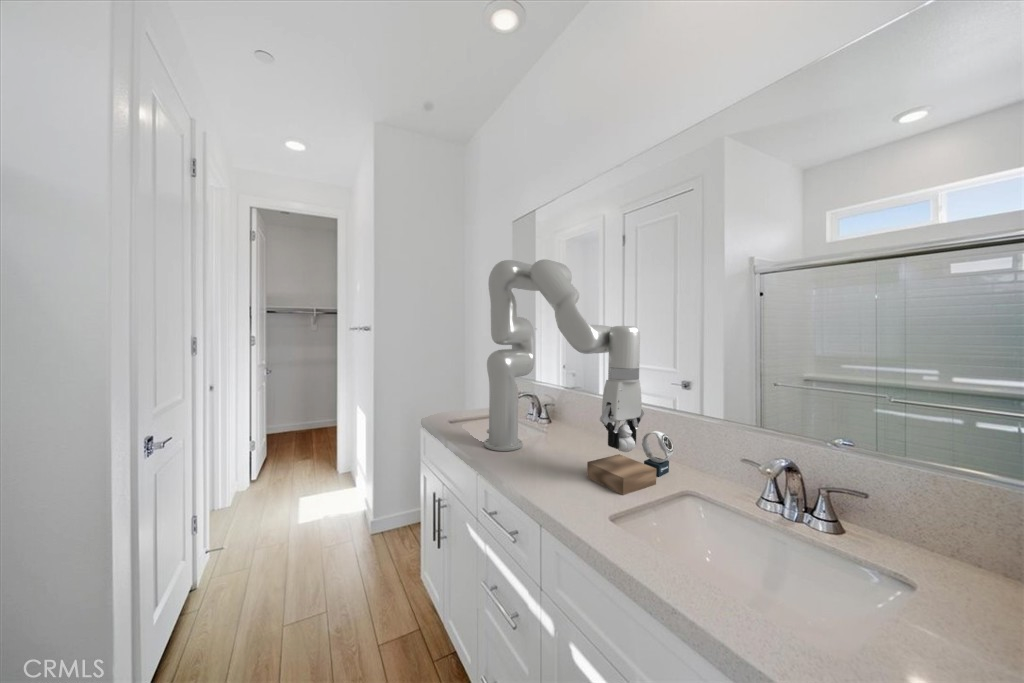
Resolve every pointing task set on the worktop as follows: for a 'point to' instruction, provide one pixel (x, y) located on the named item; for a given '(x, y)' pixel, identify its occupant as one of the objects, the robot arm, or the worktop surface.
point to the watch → (655, 462)
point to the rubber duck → (625, 438)
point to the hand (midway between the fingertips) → (622, 444)
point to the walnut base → (621, 473)
